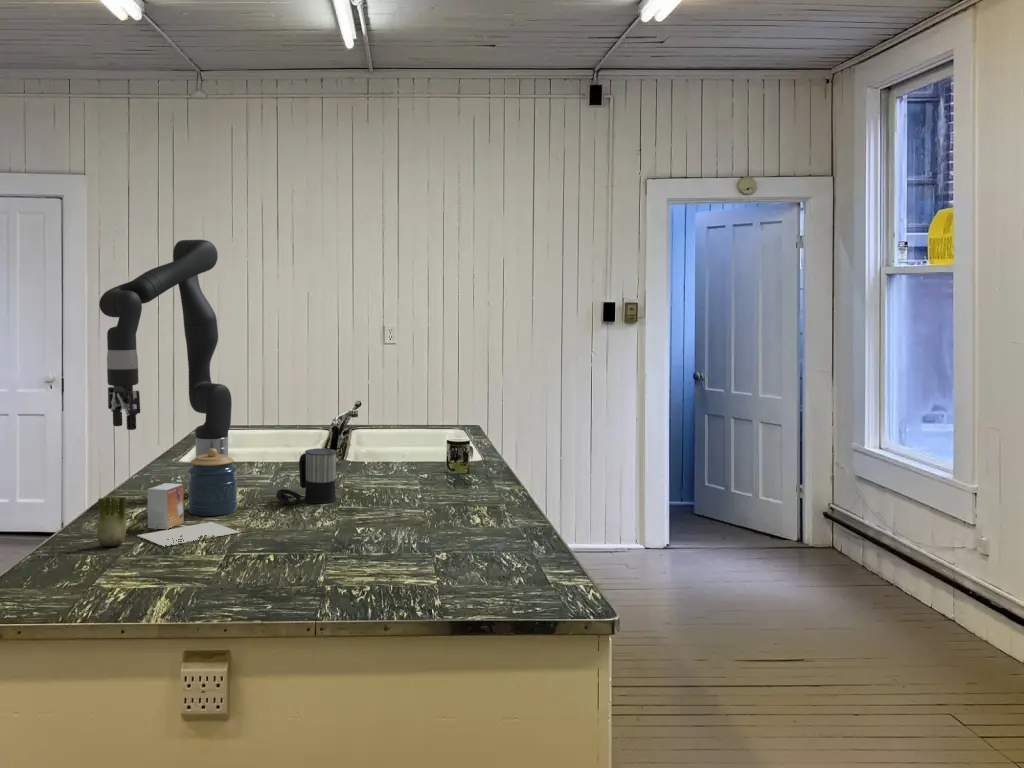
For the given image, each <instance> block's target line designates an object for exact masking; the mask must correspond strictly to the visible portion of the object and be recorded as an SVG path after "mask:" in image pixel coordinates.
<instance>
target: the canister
mask: <svg viewBox="0 0 1024 768" xmlns="http://www.w3.org/2000/svg"><path fill="white" fill-rule="evenodd" d="M190 463H191V464H192V465H191V467H189V468H188V469H187V473H189V479H188V481H187V484H188V492H187V493H188V503H187V508H188V513H189V514H191V515H194V516H198V515H199V517H200V516H202V517H217V516H224V515H230V514H232V513H235V512H236V511H237V507H238V500H237V492H238V491H237V489H238V488H237V483H238V479H237V478H236V471H237V470H238V468H237V466H235V465H234V464H233V463H234V459H233V458H232V457H230V456H229V454H228V455H224V454H217V450H216V449H215V448H210V449H209V450H208V452H207V454H206V455H200V456H197V457H196V456H195V458H192V460H190Z"/></svg>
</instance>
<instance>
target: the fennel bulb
mask: <svg viewBox="0 0 1024 768" xmlns="http://www.w3.org/2000/svg"><path fill="white" fill-rule="evenodd" d="M97 501H98V509H99V510H98V513H99V514H98V515H99V517H98V521H97V522H98V523H97V530H96V531H97V533H96V535H97V536H96V537H97V541H98V543H99V545H100V546H103V547H106V548H108V547H109V548H111V547H118V546H121V545H122V544H123V543H124V542H125V539H126V534H127V518H126V496H120V497H119V503H118V496H117V495H116V496H105V497H100V498H99V497H98V499H97Z"/></svg>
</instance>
